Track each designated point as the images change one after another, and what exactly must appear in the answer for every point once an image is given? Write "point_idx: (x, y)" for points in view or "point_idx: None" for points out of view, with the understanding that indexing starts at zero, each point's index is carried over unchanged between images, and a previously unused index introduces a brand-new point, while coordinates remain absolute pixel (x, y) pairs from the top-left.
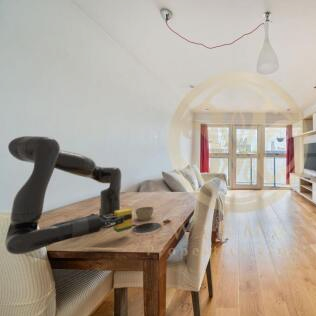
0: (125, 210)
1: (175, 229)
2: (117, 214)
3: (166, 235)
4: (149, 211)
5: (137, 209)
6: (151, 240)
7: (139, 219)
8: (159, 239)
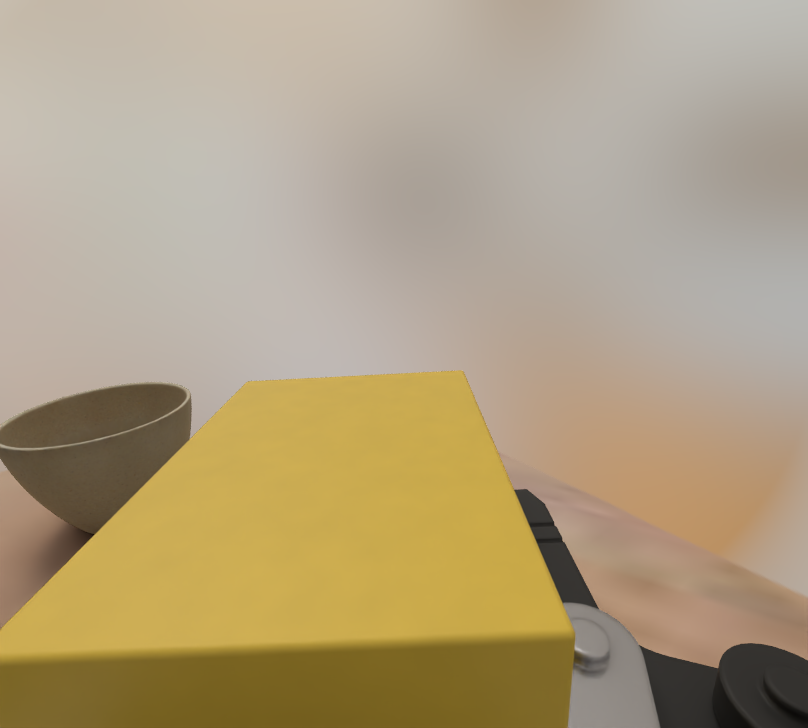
0: (411, 423)
1: (528, 466)
2: (511, 724)
3: (613, 531)
4: (185, 414)
5: (1, 438)
6: (675, 654)
7: (96, 521)
8: (684, 595)
